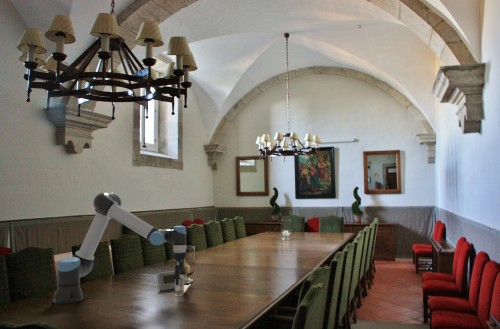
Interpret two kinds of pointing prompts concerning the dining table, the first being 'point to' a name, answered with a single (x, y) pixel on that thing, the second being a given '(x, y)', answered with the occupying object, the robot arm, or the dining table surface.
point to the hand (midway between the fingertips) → (179, 288)
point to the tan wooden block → (181, 287)
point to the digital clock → (166, 280)
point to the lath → (184, 290)
